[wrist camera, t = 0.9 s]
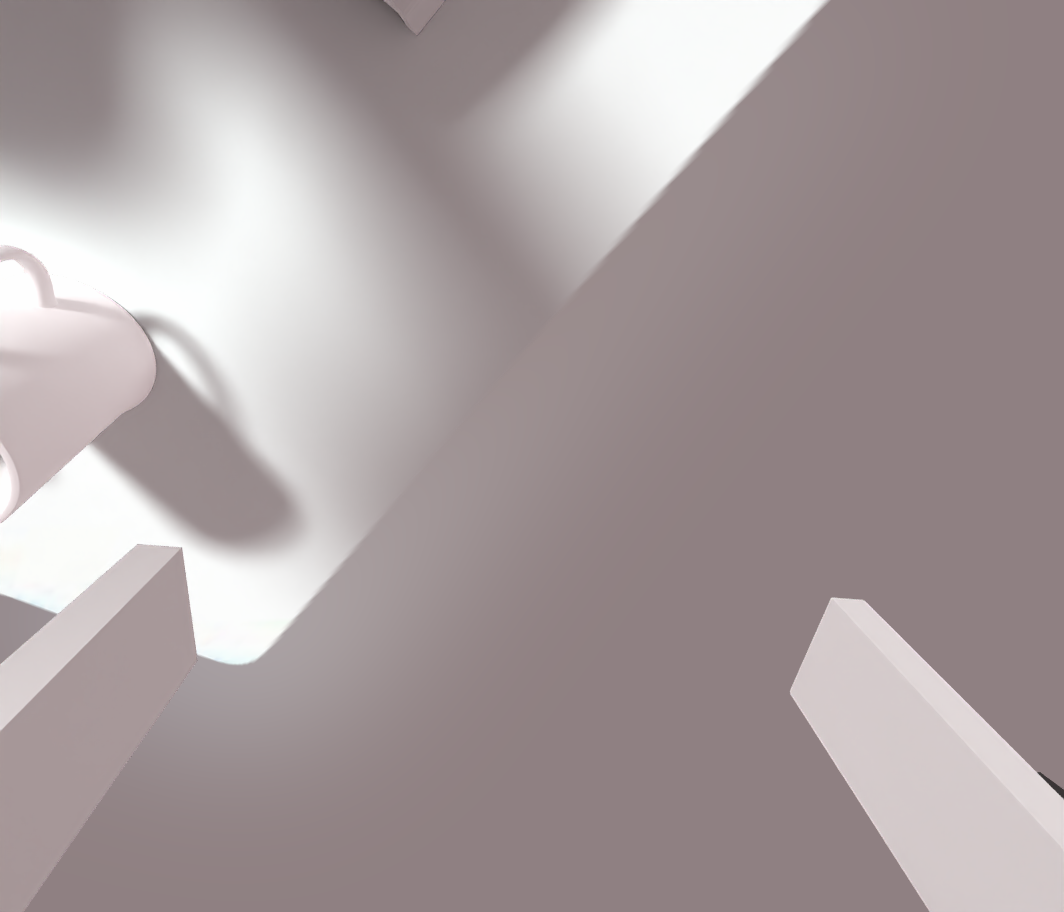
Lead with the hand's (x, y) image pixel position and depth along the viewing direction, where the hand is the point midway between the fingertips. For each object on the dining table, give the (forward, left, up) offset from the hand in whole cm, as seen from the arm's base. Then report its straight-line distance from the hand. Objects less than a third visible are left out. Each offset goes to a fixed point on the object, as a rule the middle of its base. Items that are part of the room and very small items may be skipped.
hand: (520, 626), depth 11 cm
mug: (+1, -22, -25) cm, 34 cm away
